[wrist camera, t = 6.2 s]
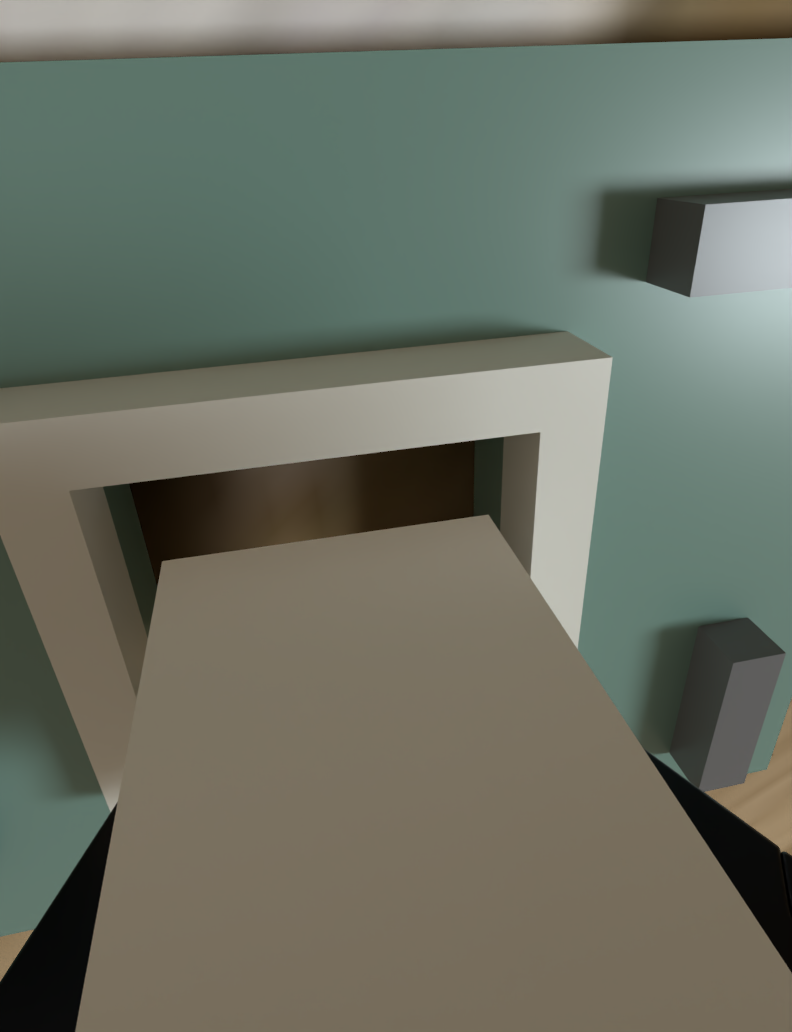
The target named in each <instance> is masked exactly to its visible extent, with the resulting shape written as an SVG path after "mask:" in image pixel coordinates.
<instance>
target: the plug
mask: <svg viewBox="0 0 792 1032" xmlns="http://www.w3.org/2000/svg"><path fill="white" fill-rule="evenodd" d="M75 1032H792V973H791V971H790V970H789V968H788V967H787V965H786V963H785V962H784V960H783V959H782V957H781V956H780V954H779V953H778V951H777V950H776V948H775V947H774V945H773V944H772V942H771V941H770V939H769V938H768V936H767V935H766V933H765V932H764V930H763V929H762V927H761V926H760V924H759V923H758V921H757V920H756V918H755V917H754V915H753V914H752V912H751V911H750V909H749V908H748V906H747V905H746V903H745V902H744V900H743V898H742V897H741V895H740V894H739V892H738V891H737V889H736V888H735V886H734V885H733V883H732V882H731V880H730V879H729V877H728V876H727V874H726V873H725V871H724V870H723V868H722V867H721V865H720V864H719V862H718V861H717V859H716V858H715V856H714V855H713V853H712V852H711V850H710V849H709V847H708V846H707V844H706V843H705V841H704V840H703V838H702V836H701V835H700V833H699V832H698V830H697V829H696V827H695V826H694V824H693V823H692V821H691V820H690V818H689V817H688V815H687V814H686V812H685V811H684V809H683V808H682V806H681V805H680V803H679V802H678V800H677V799H676V797H675V796H674V794H673V793H672V791H671V790H670V788H669V787H668V785H667V784H666V782H665V781H664V779H663V778H662V776H661V775H660V773H659V771H658V770H657V768H656V767H655V765H654V764H653V762H652V761H651V759H650V758H649V756H648V755H647V753H646V752H645V750H644V749H643V747H642V746H641V744H640V743H639V741H638V740H637V738H636V737H635V735H634V734H633V732H632V731H631V729H630V728H629V726H628V725H627V723H626V722H625V720H624V719H623V717H622V716H621V714H620V713H619V711H618V709H617V708H616V706H615V705H614V703H613V702H612V700H611V699H610V697H609V696H608V694H607V693H606V691H605V690H604V688H603V687H602V685H601V684H600V682H599V681H598V679H597V678H596V676H595V675H594V673H593V672H592V670H591V669H590V667H589V666H588V664H587V663H586V661H585V660H584V658H583V657H582V655H581V654H580V652H579V651H578V649H577V648H576V646H575V644H574V643H573V641H572V640H571V638H570V637H569V635H568V634H567V632H566V631H565V629H564V628H563V626H562V625H561V623H560V622H559V620H558V619H557V617H556V616H555V614H554V613H553V611H552V610H551V608H550V607H549V605H548V604H547V602H546V601H545V599H544V598H543V596H542V595H541V593H540V592H539V590H538V589H537V587H536V586H535V584H534V583H533V581H532V579H531V578H530V576H529V575H528V573H527V572H526V570H525V569H524V567H523V566H522V564H521V563H520V561H519V560H518V558H517V557H516V555H515V554H514V552H513V551H512V549H511V548H510V546H509V545H508V543H507V542H506V540H505V539H504V537H503V536H502V534H501V533H500V531H499V530H498V528H497V527H496V525H495V524H494V522H493V521H492V519H491V517H490V516H489V515H482V516H475V517H468V518H461V519H454V520H447V521H440V522H433V523H426V524H419V525H412V526H405V527H398V528H391V529H384V530H377V531H370V532H363V533H356V534H349V535H342V536H335V537H328V538H321V539H314V540H307V541H300V542H293V543H286V544H279V545H272V546H265V547H258V548H251V549H244V550H237V551H230V552H223V553H216V554H209V555H202V556H195V557H188V558H181V559H174V560H167V561H162V565H161V570H160V576H159V581H158V586H157V592H156V597H155V603H154V608H153V613H152V619H151V624H150V630H149V635H148V640H147V646H146V651H145V657H144V662H143V667H142V673H141V678H140V684H139V689H138V695H137V700H136V705H135V711H134V716H133V722H132V727H131V732H130V738H129V743H128V749H127V754H126V759H125V765H124V770H123V776H122V781H121V787H120V792H119V797H118V803H117V808H116V814H115V819H114V824H113V830H112V835H111V841H110V846H109V851H108V857H107V862H106V868H105V873H104V879H103V884H102V889H101V895H100V900H99V906H98V911H97V916H96V922H95V927H94V933H93V938H92V943H91V949H90V954H89V960H88V965H87V971H86V976H85V981H84V987H83V992H82V998H81V1003H80V1008H79V1014H78V1019H77V1025H76V1030H75Z"/></svg>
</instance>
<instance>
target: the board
mask: <svg viewBox="0 0 792 1032" xmlns="http://www.w3.org/2000/svg"><path fill="white" fill-rule="evenodd" d="M473 440H475V454H474V514H473V517H475V516H482V515H489V516H490V517H491V519H492V521H493V522H494V524H495V525H496V527H497V528H498V530H499V531H500V533H501V534H502V536H503V537H504V539H505V540H506V542H507V543H508V545H509V546H510V548H511V549H512V551H513V552H514V554H515V555H516V557H517V558H518V560H519V561H520V563H521V564H522V566H523V567H524V569H525V570H526V572H527V573H528V575H529V576H530V578H531V579H532V581H533V583H534V584H535V586H536V587H537V589H538V590H539V592H540V593H541V595H542V596H543V598H544V599H545V601H546V602H547V604H548V605H549V607H550V608H551V610H552V611H553V613H554V614H555V616H556V617H557V619H558V620H559V622H560V623H561V625H562V626H563V628H564V629H565V631H566V632H567V634H568V635H569V637H570V638H571V640H572V641H573V643H574V644H575V646H576V648H577V649H578V651H579V652H580V654H581V655H582V657H583V658H584V660H585V661H586V663H587V664H588V666H589V667H590V669H591V670H592V672H593V673H594V675H595V676H596V678H597V679H598V681H599V682H600V684H601V685H602V687H603V688H604V690H605V691H606V693H607V694H608V696H609V697H610V699H611V700H612V702H613V703H614V705H615V706H616V708H617V709H618V711H619V713H620V714H621V716H622V717H623V719H624V720H625V722H626V723H627V725H628V726H629V728H630V729H631V731H632V732H633V734H634V735H635V737H636V738H637V740H638V741H639V743H640V744H641V746H642V747H643V748H644V749H645V750H647V751H648V752H650V753H651V754H652V755H654V756H655V757H656V758H658V759H659V760H661V761H662V762H663V763H665V764H666V765H667V766H669V767H670V768H672V769H673V770H674V771H676V772H677V773H678V774H680V775H681V776H682V777H684V778H685V779H687V780H688V781H689V782H691V783H692V784H693V785H695V786H696V787H698V788H699V789H700V790H702V791H703V792H705V791H710V790H714V789H719V788H723V787H728V786H733V785H737V784H742V783H744V781H745V778H746V775H747V774H748V773H752V772H757V771H761V770H766V769H767V767H768V764H769V761H770V759H771V756H772V753H773V750H774V747H775V744H776V741H777V738H778V735H779V733H780V730H781V727H782V724H783V721H784V718H785V715H786V712H787V709H788V706H789V704H790V701H791V698H792V38H779V39H747V40H714V41H682V42H649V43H617V44H584V45H552V46H519V47H487V48H454V49H422V50H390V51H357V52H325V53H292V54H260V55H227V56H195V57H162V58H130V59H97V60H65V61H32V62H0V937H1V936H5V935H10V934H14V933H19V932H23V931H28V930H33V929H35V928H36V926H37V925H38V923H39V922H40V920H41V918H42V917H43V915H44V914H45V912H46V911H47V909H48V908H49V906H50V905H51V903H52V902H53V900H54V899H55V897H56V895H57V894H58V892H59V891H60V889H61V888H62V886H63V885H64V883H65V882H66V880H67V879H68V877H69V875H70V874H71V872H72V871H73V869H74V868H75V866H76V865H77V863H78V862H79V860H80V859H81V857H82V856H83V854H84V852H85V851H86V849H87V848H88V846H89V845H90V843H91V842H92V840H93V839H94V837H95V836H96V834H97V833H98V831H99V829H100V828H101V826H102V825H103V823H104V822H105V820H106V819H107V817H108V816H109V814H110V813H111V811H112V809H113V808H114V806H115V805H116V803H117V802H118V797H119V792H120V787H121V781H122V776H123V770H124V765H125V759H126V754H127V749H128V743H129V738H130V732H131V727H132V722H133V716H134V711H135V705H136V700H137V695H138V689H139V684H140V678H141V673H142V667H143V662H144V657H145V651H146V646H147V640H148V635H149V630H150V624H151V619H152V613H153V608H154V603H155V597H156V592H157V584H156V580H155V577H154V573H153V569H152V566H151V562H150V558H149V555H148V551H147V547H146V544H145V540H144V536H143V533H142V529H141V525H140V522H139V518H138V514H137V511H136V507H135V503H134V500H133V496H132V492H131V489H130V485H129V483H136V482H144V481H152V480H160V479H168V478H176V477H184V476H192V475H200V474H208V473H216V472H224V471H232V470H240V469H248V468H256V467H264V466H272V465H280V464H288V463H296V462H304V461H312V460H321V459H329V458H337V457H345V456H353V455H361V454H369V453H377V452H385V451H393V450H401V449H409V448H417V447H425V446H433V445H441V444H449V443H457V442H465V441H473Z"/></svg>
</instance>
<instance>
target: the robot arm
mask: <svg viewBox="0 0 792 1032" xmlns="http://www.w3.org/2000/svg"><path fill="white" fill-rule="evenodd" d="M643 749H644V748H643ZM644 750H645V749H644ZM645 752H646V753H647V755H648V756H649V758H650V759H651V761H652V762H653V764H654V765H655V767H656V768H657V770H658V771H659V773H660V775H661V776H662V778H663V779H664V781H665V782H666V784H667V785H668V787H669V788H670V790H671V791H672V793H673V794H674V796H675V797H676V799H677V800H678V802H679V803H680V805H681V806H682V808H683V809H684V811H685V812H686V814H687V815H688V817H689V818H690V820H691V821H692V823H693V824H694V826H695V827H696V829H697V830H698V832H699V833H700V835H701V836H702V838H703V840H704V841H705V843H706V844H707V846H708V847H709V849H710V850H711V852H712V853H713V855H714V856H715V858H716V859H717V861H718V862H719V864H720V865H721V867H722V868H723V870H724V871H725V873H726V874H727V876H728V877H729V879H730V880H731V882H732V883H733V885H734V886H735V888H736V889H737V891H738V892H739V894H740V895H741V897H742V898H743V900H744V902H745V903H746V905H747V906H748V908H749V909H750V911H751V912H752V914H753V915H754V917H755V918H756V920H757V921H758V923H759V924H760V926H761V927H762V929H763V930H764V932H765V933H766V935H767V936H768V938H769V939H770V941H771V942H772V944H773V945H774V947H775V948H776V950H777V951H778V953H779V954H780V956H781V957H782V959H783V960H784V962H785V963H786V965H787V967H788V968H789V970H790V971H791V973H792V856H791V855H790V854H788V853H787V852H780V848H779V847H778V846H777V845H776V844H774V843H773V842H772V841H770V840H769V839H767V838H766V837H765V836H763V835H762V834H761V833H759V832H758V831H756V830H755V829H754V828H752V827H751V826H750V825H748V824H747V823H745V822H744V821H743V820H741V819H740V818H739V817H737V816H736V815H735V814H733V813H732V812H730V811H729V810H728V809H726V808H725V807H724V806H722V805H721V804H719V803H718V802H717V801H715V800H714V799H713V798H711V797H710V796H709V795H707V794H706V793H704V792H703V791H702V790H700V789H699V788H698V787H696V786H695V785H693V784H692V783H691V782H689V781H688V780H687V779H685V778H684V777H682V776H681V775H680V774H678V773H677V772H676V771H674V770H673V769H672V768H670V767H669V766H667V765H666V764H665V763H663V762H662V761H661V760H659V759H658V758H656V757H655V756H654V755H652V754H651V753H650V752H648V751H647V750H645ZM117 803H118V802H117ZM117 803H116V805H115V806H114V808H113V809H112V811H111V813H110V814H109V816H108V817H107V819H106V820H105V822H104V823H103V825H102V826H101V828H100V829H99V831H98V833H97V834H96V836H95V837H94V839H93V840H92V842H91V843H90V845H89V846H88V848H87V849H86V851H85V852H84V854H83V856H82V857H81V859H80V860H79V862H78V863H77V865H76V866H75V868H74V869H73V871H72V872H71V874H70V875H69V877H68V879H67V880H66V882H65V883H64V885H63V886H62V888H61V889H60V891H59V892H58V894H57V895H56V897H55V899H54V900H53V902H52V903H51V905H50V906H49V908H48V909H47V911H46V912H45V914H44V915H43V917H42V918H41V920H40V922H39V923H38V925H37V926H36V928H35V929H34V931H33V932H32V934H31V935H30V937H29V938H28V940H27V941H26V943H25V945H24V946H23V948H22V949H21V951H20V952H19V954H18V955H17V957H16V958H15V960H14V961H13V963H12V965H11V966H10V968H9V969H8V971H7V972H6V974H5V975H4V977H3V978H2V980H1V981H0V1032H75V1030H76V1025H77V1019H78V1014H79V1008H80V1003H81V998H82V992H83V987H84V981H85V976H86V971H87V965H88V960H89V954H90V949H91V943H92V938H93V933H94V927H95V922H96V916H97V911H98V906H99V900H100V895H101V889H102V884H103V879H104V873H105V868H106V862H107V857H108V851H109V846H110V841H111V835H112V830H113V824H114V819H115V814H116V808H117Z"/></svg>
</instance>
